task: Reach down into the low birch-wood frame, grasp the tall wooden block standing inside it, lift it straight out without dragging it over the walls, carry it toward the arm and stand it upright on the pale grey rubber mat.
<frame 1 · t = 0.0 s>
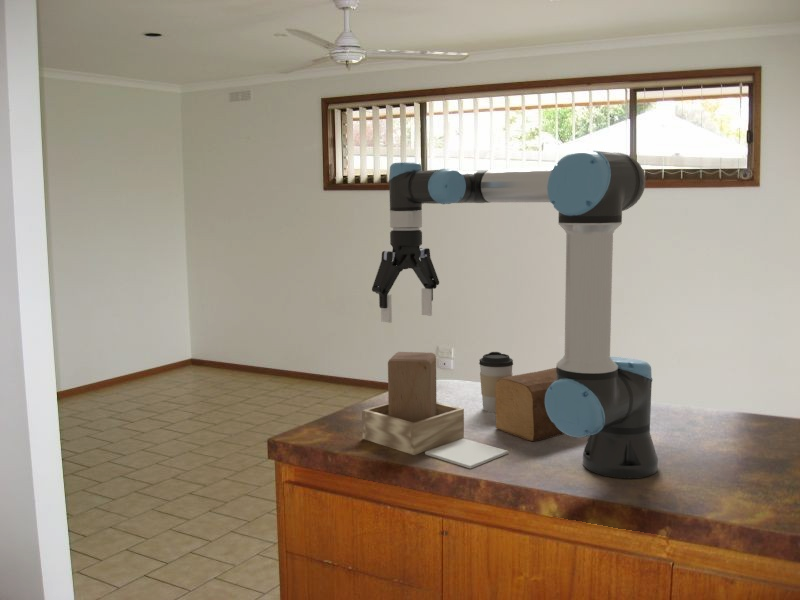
hand: (407, 318, 181), 28 cm above the counter, fingers open, 13 cm apart
birch frame: (413, 438, 180), on the counter
bread: (561, 424, 191), on the counter
wooden block: (413, 439, 180), resting in birch frame
grey mat: (466, 453, 168), on the counter
coffee cup: (495, 409, 204), on the counter
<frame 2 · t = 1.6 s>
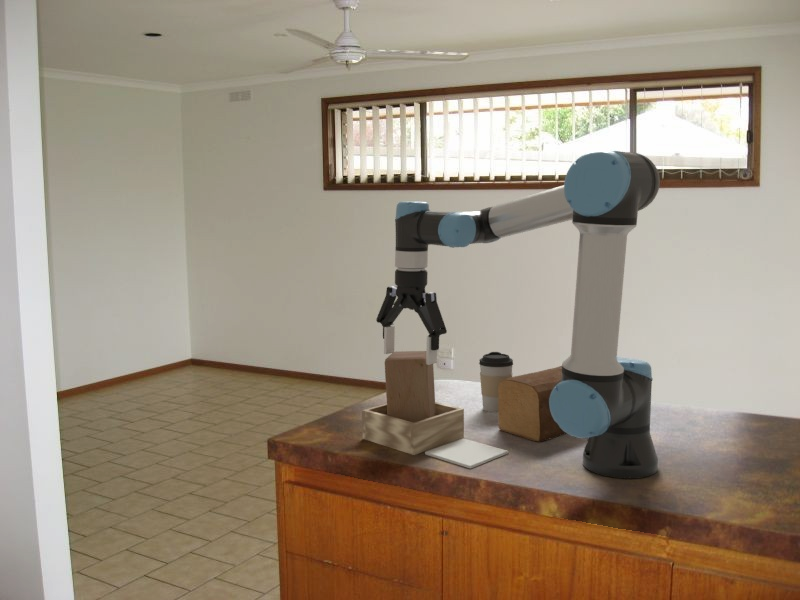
hand: (409, 358, 178), 19 cm above the counter, fingers open, 13 cm apart
wooden block: (413, 438, 180), resting in birch frame, touching gripper
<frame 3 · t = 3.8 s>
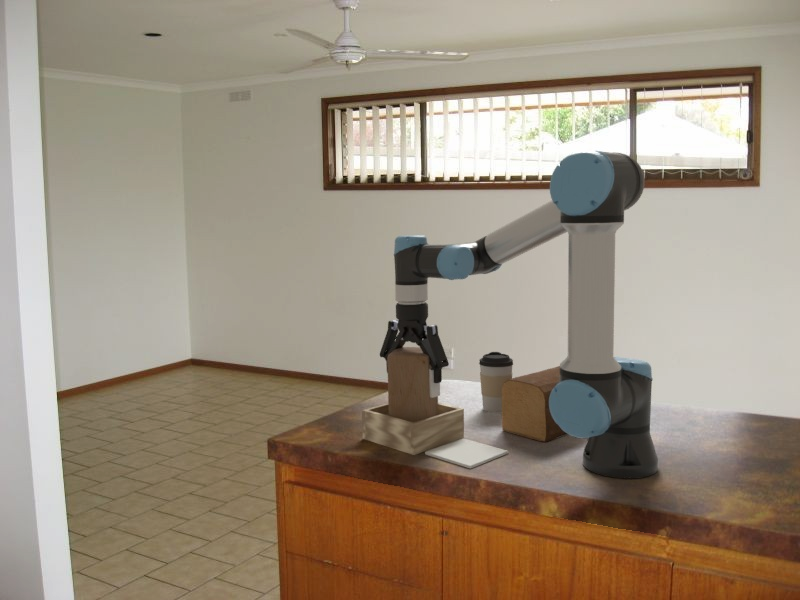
hand: (413, 391, 178), 11 cm above the counter, fingers closed on wooden block, 13 cm apart
wooden block: (414, 434, 180), point 1 cm above the counter, touching gripper
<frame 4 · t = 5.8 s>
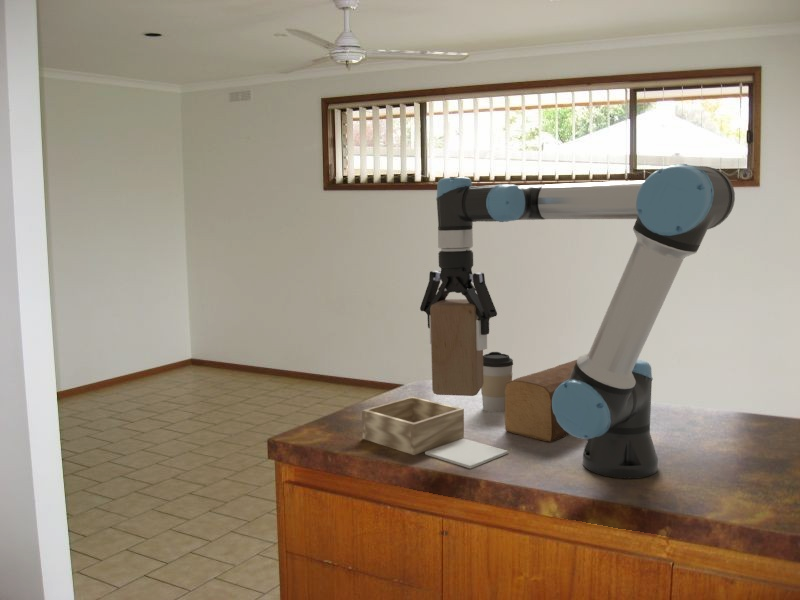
hand: (457, 346, 167), 24 cm above the counter, fingers closed on wooden block, 13 cm apart
wooden block: (458, 391, 168), point 14 cm above the counter, touching gripper
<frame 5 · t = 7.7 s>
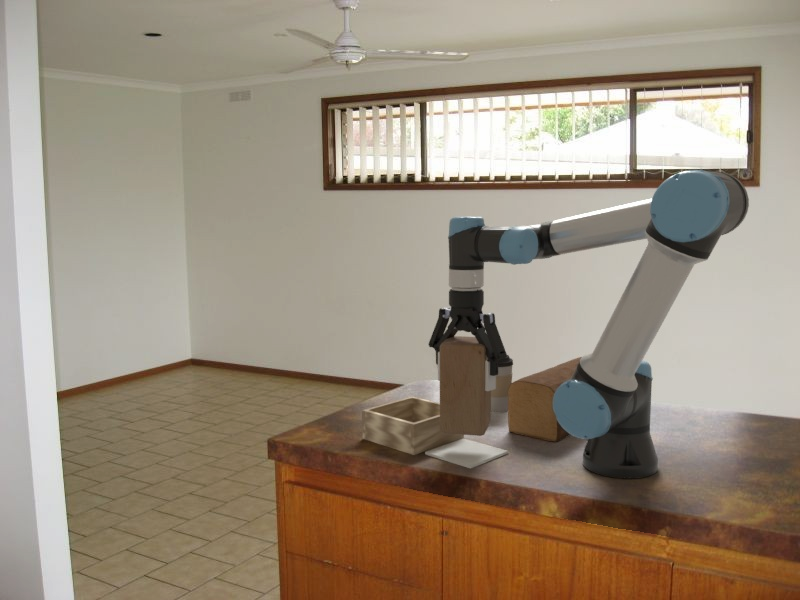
hand: (466, 384, 166), 16 cm above the counter, fingers closed on wooden block, 13 cm apart
wooden block: (465, 429, 168), point 6 cm above the counter, touching gripper
when the fingers open (12 cm above the counter, at t = 9.3 s): wooden block drops 1 cm, resting on grey mat.
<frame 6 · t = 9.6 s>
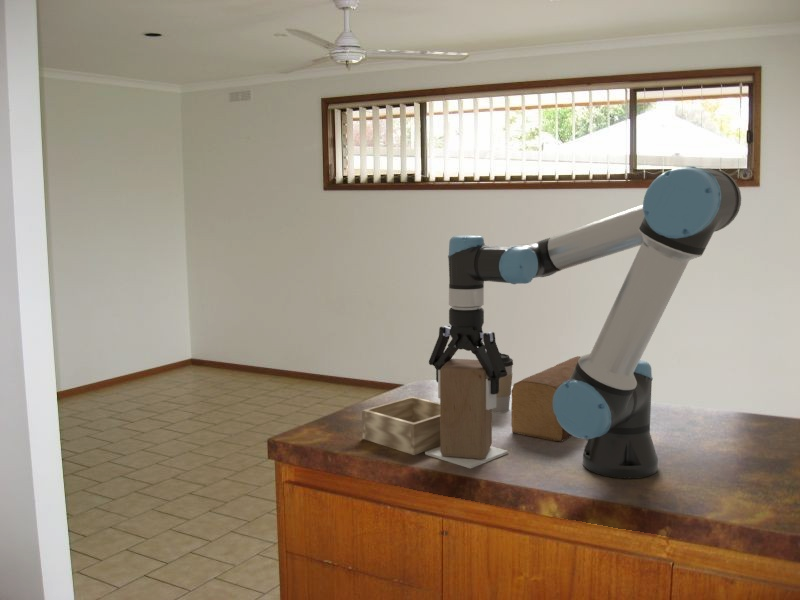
hand: (466, 402, 167), 12 cm above the counter, fingers open, 13 cm apart
wooden block: (466, 452, 168), resting on grey mat, touching gripper
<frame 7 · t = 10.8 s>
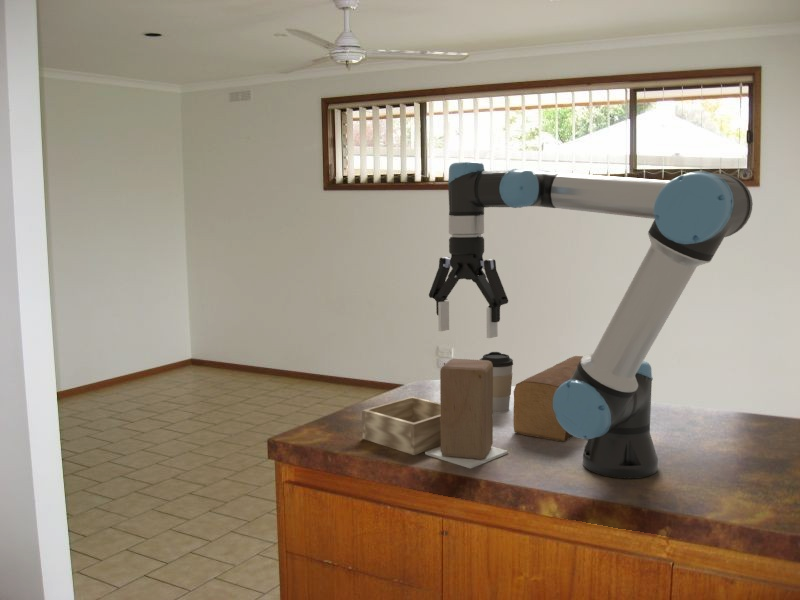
hand: (467, 333, 165), 27 cm above the counter, fingers open, 13 cm apart
wooden block: (467, 452, 168), resting on grey mat
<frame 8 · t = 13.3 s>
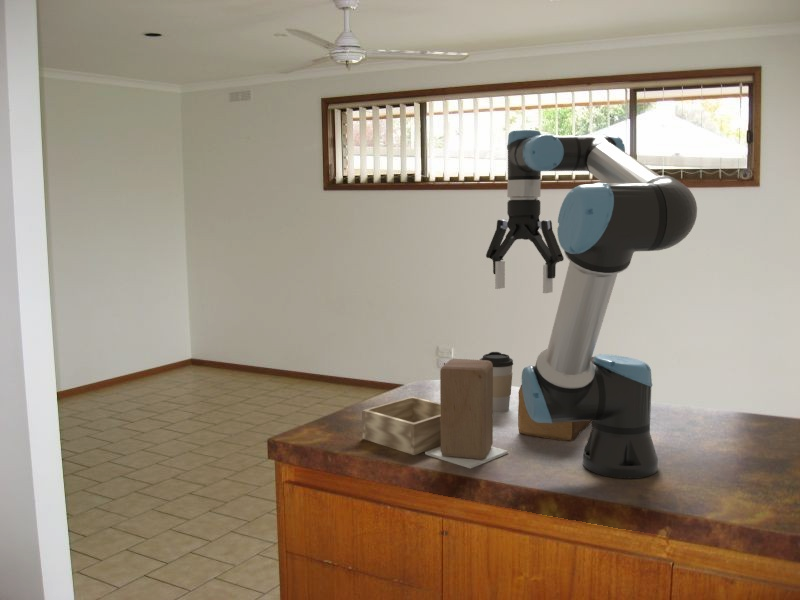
hand: (523, 290, 177), 35 cm above the counter, fingers open, 13 cm apart
at the end: wooden block inside the target area on the grey mat (0.2 cm from its centre), point 0.4 cm above the grey mat's base; wooden block tilted 0°; the gripper is holding nothing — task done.
